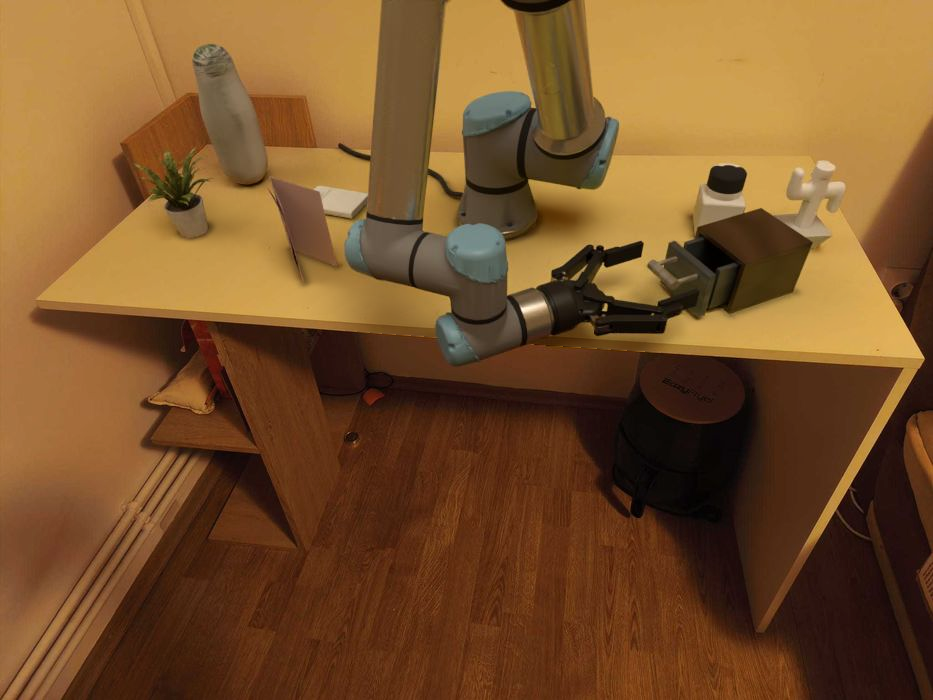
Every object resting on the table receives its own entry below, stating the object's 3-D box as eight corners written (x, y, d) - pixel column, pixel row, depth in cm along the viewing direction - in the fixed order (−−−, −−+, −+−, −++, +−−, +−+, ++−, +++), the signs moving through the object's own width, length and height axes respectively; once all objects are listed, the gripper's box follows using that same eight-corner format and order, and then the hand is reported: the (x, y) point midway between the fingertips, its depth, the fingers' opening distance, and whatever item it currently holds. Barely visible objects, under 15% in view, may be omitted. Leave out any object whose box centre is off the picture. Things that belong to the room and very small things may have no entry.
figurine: (831, 253, 106) (866, 173, 96) (776, 255, 106) (806, 176, 96) (813, 230, 112) (845, 152, 101) (761, 232, 112) (787, 155, 101)
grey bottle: (217, 183, 135) (169, 48, 116) (256, 165, 140) (215, 33, 121) (244, 196, 130) (197, 58, 111) (282, 177, 136) (245, 42, 116)
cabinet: (729, 313, 96) (745, 263, 90) (685, 275, 104) (697, 226, 97) (792, 292, 99) (813, 242, 93) (745, 256, 107) (761, 207, 100)
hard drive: (352, 220, 122) (299, 210, 125) (371, 199, 127) (320, 190, 131) (350, 213, 120) (297, 203, 124) (370, 192, 126) (318, 183, 129)
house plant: (250, 229, 121) (224, 150, 110) (186, 261, 114) (151, 180, 103) (213, 205, 128) (184, 129, 117) (150, 234, 121) (114, 156, 110)
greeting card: (286, 250, 115) (263, 177, 104) (324, 240, 117) (306, 167, 106) (299, 284, 107) (276, 208, 97) (340, 272, 109) (322, 197, 99)
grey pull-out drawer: (671, 326, 93) (681, 286, 88) (634, 290, 100) (641, 250, 95) (758, 297, 97) (772, 256, 92) (717, 263, 104) (728, 224, 99)
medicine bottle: (735, 240, 110) (754, 179, 102) (694, 237, 112) (709, 177, 103) (731, 219, 115) (748, 159, 107) (692, 216, 117) (706, 157, 108)
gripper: (505, 284, 99) (618, 250, 104) (585, 388, 82) (716, 340, 87) (504, 245, 93) (624, 211, 99) (591, 347, 76) (729, 299, 82)
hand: (667, 271), depth 93 cm, fingers open, 13 cm apart
